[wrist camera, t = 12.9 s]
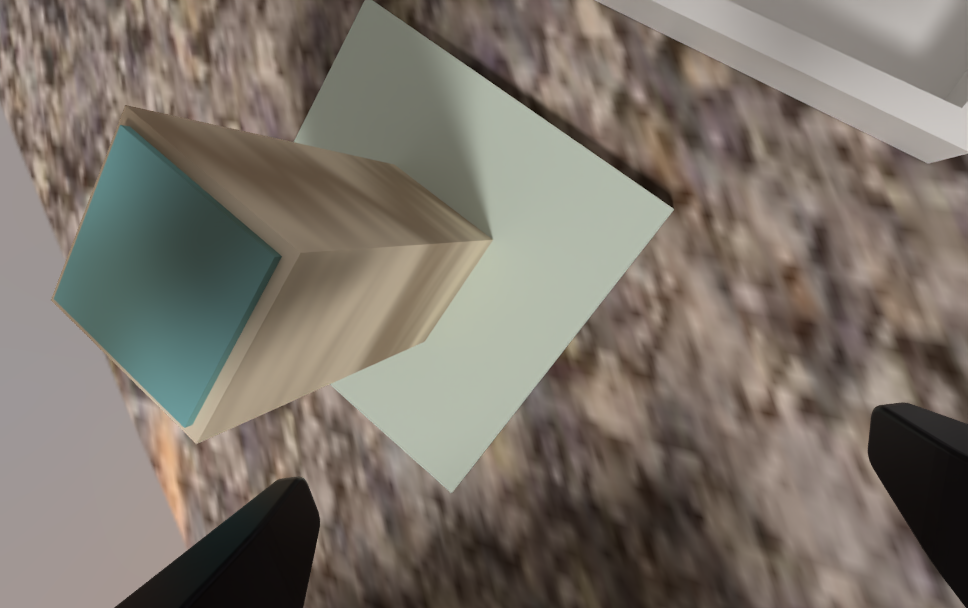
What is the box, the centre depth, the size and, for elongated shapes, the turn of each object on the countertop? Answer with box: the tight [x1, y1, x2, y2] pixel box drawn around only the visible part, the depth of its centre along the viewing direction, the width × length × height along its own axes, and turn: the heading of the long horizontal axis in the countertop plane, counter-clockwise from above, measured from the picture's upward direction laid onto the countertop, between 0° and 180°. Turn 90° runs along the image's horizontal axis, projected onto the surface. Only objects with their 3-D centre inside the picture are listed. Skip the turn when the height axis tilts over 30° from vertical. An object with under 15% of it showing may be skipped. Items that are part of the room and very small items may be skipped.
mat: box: [294, 0, 674, 493], centre depth 22 cm, size 14×14×1 cm
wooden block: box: [51, 105, 493, 444], centre depth 16 cm, size 5×5×11 cm
